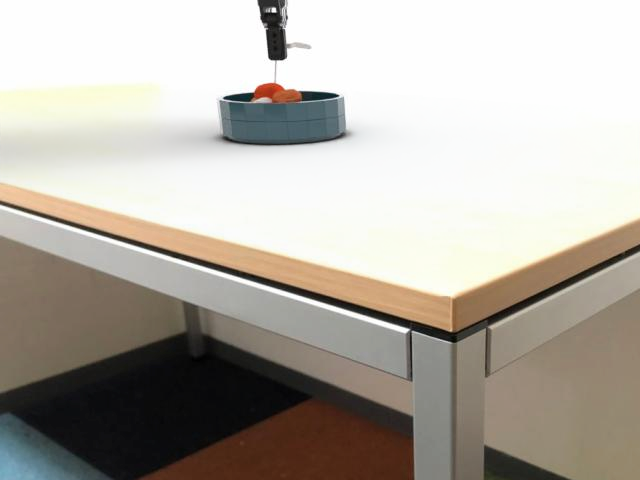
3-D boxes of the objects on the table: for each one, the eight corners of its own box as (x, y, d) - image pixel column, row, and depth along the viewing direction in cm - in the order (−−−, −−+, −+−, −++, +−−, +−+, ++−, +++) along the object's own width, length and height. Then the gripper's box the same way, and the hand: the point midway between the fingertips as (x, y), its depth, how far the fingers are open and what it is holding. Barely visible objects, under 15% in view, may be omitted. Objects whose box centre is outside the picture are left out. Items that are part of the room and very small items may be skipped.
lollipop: (303, 107, 94) (293, 7, 92) (237, 115, 97) (227, 18, 95) (324, 112, 100) (316, 18, 98) (262, 120, 102) (252, 28, 100)
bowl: (211, 146, 92) (205, 103, 90) (233, 127, 107) (228, 91, 105) (344, 143, 94) (342, 102, 92) (348, 125, 108) (346, 89, 106)
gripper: (241, -88, 95) (255, 57, 102) (222, -103, 83) (240, 63, 90) (301, -87, 96) (311, 57, 103) (291, -102, 84) (303, 63, 91)
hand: (278, 59), depth 96 cm, fingers closed on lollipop, 1 cm apart
